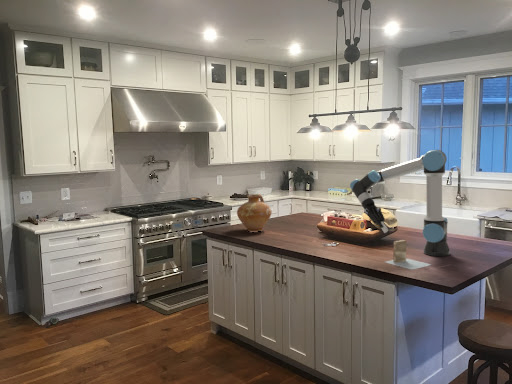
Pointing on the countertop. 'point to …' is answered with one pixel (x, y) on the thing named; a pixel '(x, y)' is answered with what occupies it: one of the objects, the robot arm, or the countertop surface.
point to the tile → (399, 251)
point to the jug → (254, 213)
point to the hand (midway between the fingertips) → (386, 231)
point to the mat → (409, 264)
